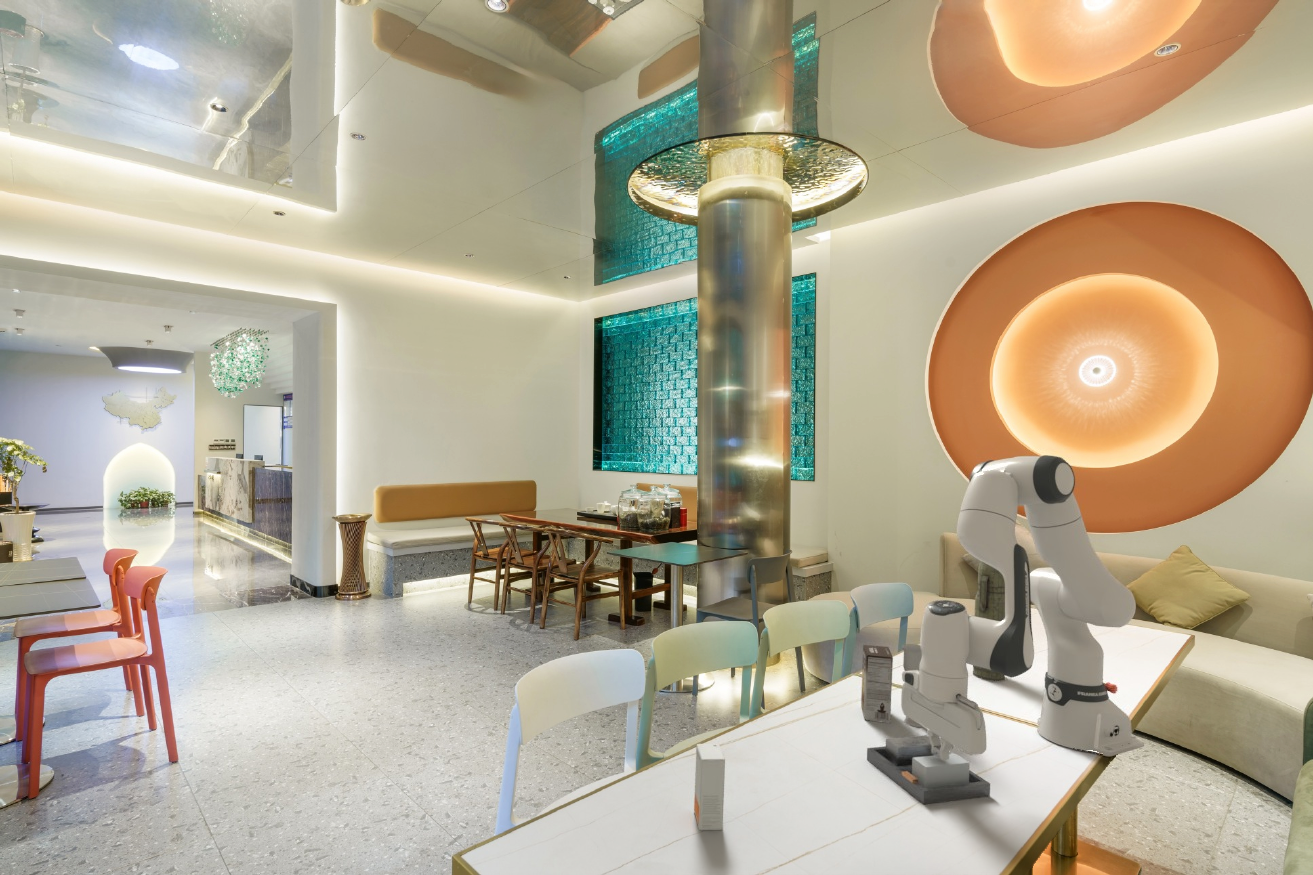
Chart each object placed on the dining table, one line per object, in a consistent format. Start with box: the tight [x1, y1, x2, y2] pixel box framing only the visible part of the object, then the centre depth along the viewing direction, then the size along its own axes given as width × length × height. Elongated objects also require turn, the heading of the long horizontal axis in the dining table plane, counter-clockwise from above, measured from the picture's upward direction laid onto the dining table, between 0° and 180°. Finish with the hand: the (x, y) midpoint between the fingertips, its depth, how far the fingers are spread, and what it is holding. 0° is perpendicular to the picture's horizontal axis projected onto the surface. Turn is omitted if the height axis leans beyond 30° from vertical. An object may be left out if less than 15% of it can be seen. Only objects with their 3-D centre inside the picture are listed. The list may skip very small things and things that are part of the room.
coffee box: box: [860, 644, 894, 724], centre depth 164 cm, size 9×6×16 cm
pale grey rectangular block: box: [912, 753, 970, 788], centre depth 129 cm, size 10×4×4 cm, turn 106°
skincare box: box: [693, 743, 726, 831], centre depth 114 cm, size 6×4×12 cm
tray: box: [866, 734, 991, 805], centre depth 133 cm, size 15×18×5 cm
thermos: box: [972, 561, 1006, 682], centre depth 199 cm, size 9×12×35 cm
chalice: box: [901, 643, 924, 728], centre depth 161 cm, size 7×7×18 cm
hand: (940, 756), depth 129 cm, fingers closed
